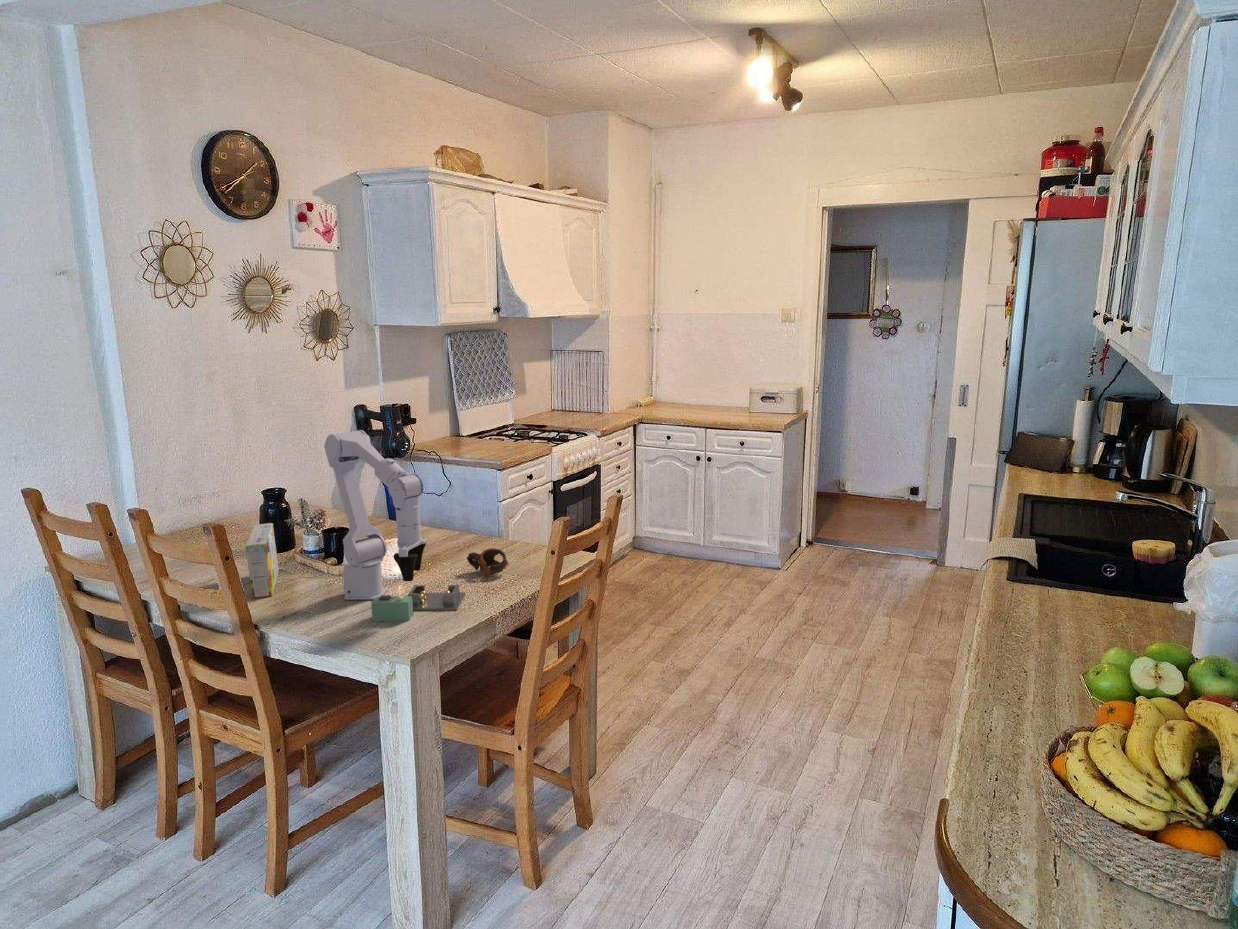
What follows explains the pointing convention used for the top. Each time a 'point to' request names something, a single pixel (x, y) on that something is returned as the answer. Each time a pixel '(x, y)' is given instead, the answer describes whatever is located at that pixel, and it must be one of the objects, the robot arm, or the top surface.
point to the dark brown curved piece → (488, 561)
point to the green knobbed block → (392, 608)
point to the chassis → (436, 598)
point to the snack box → (262, 560)
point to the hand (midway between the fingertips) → (412, 575)
